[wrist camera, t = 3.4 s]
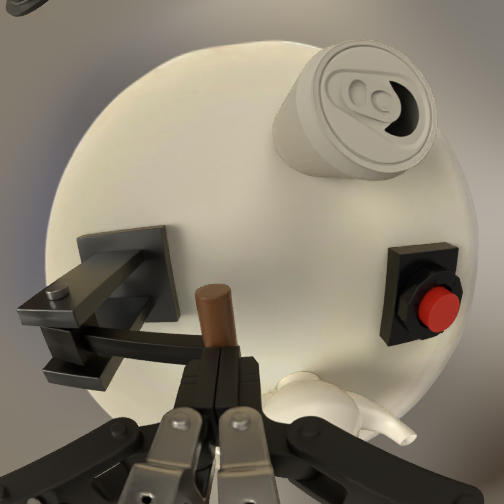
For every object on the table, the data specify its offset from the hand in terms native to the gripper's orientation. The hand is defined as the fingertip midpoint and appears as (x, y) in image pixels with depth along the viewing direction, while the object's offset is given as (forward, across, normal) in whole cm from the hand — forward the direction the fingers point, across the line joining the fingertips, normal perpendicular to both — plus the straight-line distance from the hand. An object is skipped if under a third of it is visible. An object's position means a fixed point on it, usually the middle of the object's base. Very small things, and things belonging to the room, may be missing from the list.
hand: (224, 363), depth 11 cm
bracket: (+12, +9, 0) cm, 15 cm away
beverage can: (+12, -7, -10) cm, 17 cm away
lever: (+3, +5, 0) cm, 5 cm away
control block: (+12, -17, +4) cm, 21 cm away
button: (+9, -17, +4) cm, 19 cm away
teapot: (+12, -5, +14) cm, 19 cm away
